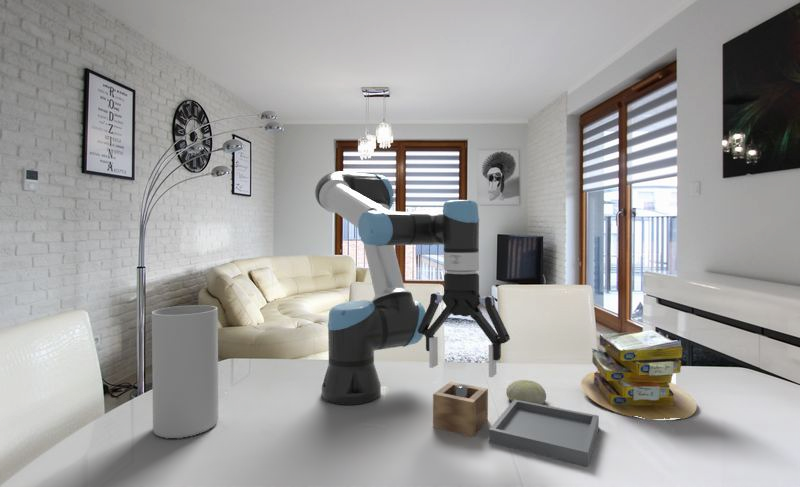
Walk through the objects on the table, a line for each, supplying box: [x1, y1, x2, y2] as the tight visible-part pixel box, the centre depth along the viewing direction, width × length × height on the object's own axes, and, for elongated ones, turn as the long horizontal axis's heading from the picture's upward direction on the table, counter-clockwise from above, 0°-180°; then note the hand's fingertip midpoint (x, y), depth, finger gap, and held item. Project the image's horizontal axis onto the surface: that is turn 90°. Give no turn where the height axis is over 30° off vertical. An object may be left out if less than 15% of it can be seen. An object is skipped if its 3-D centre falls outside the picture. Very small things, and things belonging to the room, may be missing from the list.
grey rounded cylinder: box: [455, 384, 467, 398], centre depth 93 cm, size 3×3×8 cm
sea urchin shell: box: [505, 379, 547, 405], centre depth 106 cm, size 9×8×8 cm
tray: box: [488, 399, 600, 467], centre depth 88 cm, size 18×18×2 cm
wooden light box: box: [432, 381, 489, 438], centre depth 94 cm, size 9×11×7 cm
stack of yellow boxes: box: [580, 329, 698, 421], centre depth 107 cm, size 25×25×17 cm
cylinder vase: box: [151, 304, 219, 439], centre depth 91 cm, size 12×12×25 cm
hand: (462, 370), depth 93 cm, fingers open, 13 cm apart
